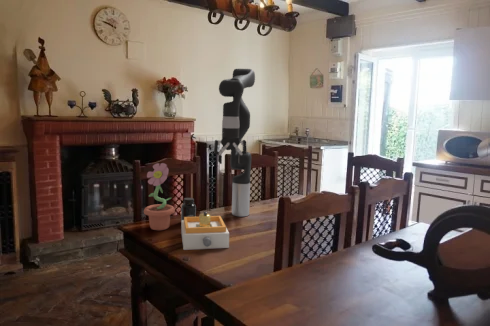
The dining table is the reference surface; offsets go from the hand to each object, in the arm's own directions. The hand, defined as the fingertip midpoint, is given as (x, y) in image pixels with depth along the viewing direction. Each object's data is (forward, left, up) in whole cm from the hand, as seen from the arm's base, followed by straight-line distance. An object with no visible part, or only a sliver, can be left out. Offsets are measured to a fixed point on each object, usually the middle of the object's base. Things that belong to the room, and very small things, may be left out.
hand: (230, 163), depth 168 cm
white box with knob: (+12, -12, -31) cm, 35 cm away
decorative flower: (-9, -31, -31) cm, 45 cm away
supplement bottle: (-15, -17, -31) cm, 39 cm away
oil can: (+10, -12, -29) cm, 33 cm away
